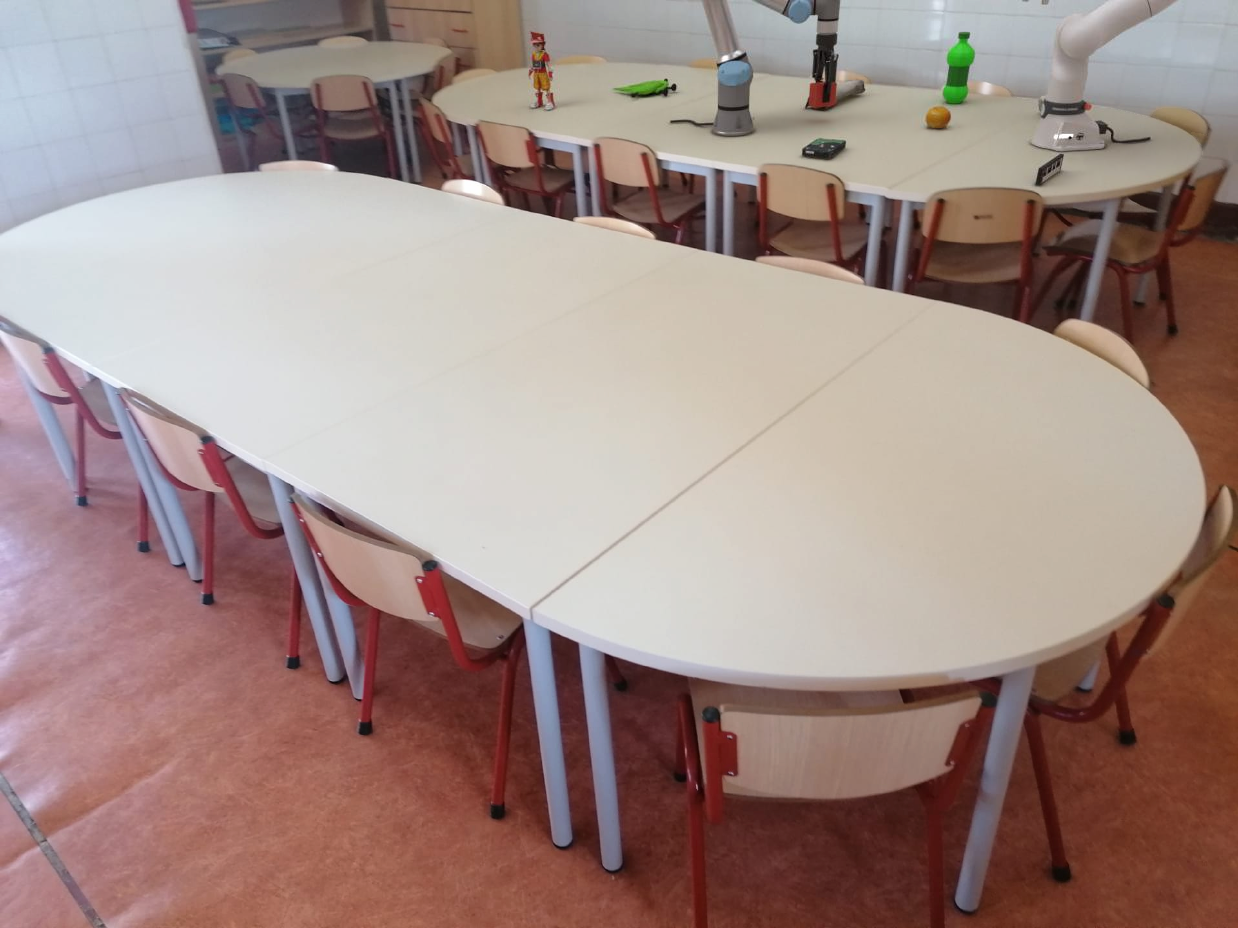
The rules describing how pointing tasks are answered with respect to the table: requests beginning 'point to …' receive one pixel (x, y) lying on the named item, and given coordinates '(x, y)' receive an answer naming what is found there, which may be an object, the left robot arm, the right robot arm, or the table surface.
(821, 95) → the block
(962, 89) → the plastic bottle
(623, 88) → the toy
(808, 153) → the disk drive
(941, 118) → the fruit
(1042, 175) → the midi keyboard
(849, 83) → the rolled mat
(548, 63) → the toy
